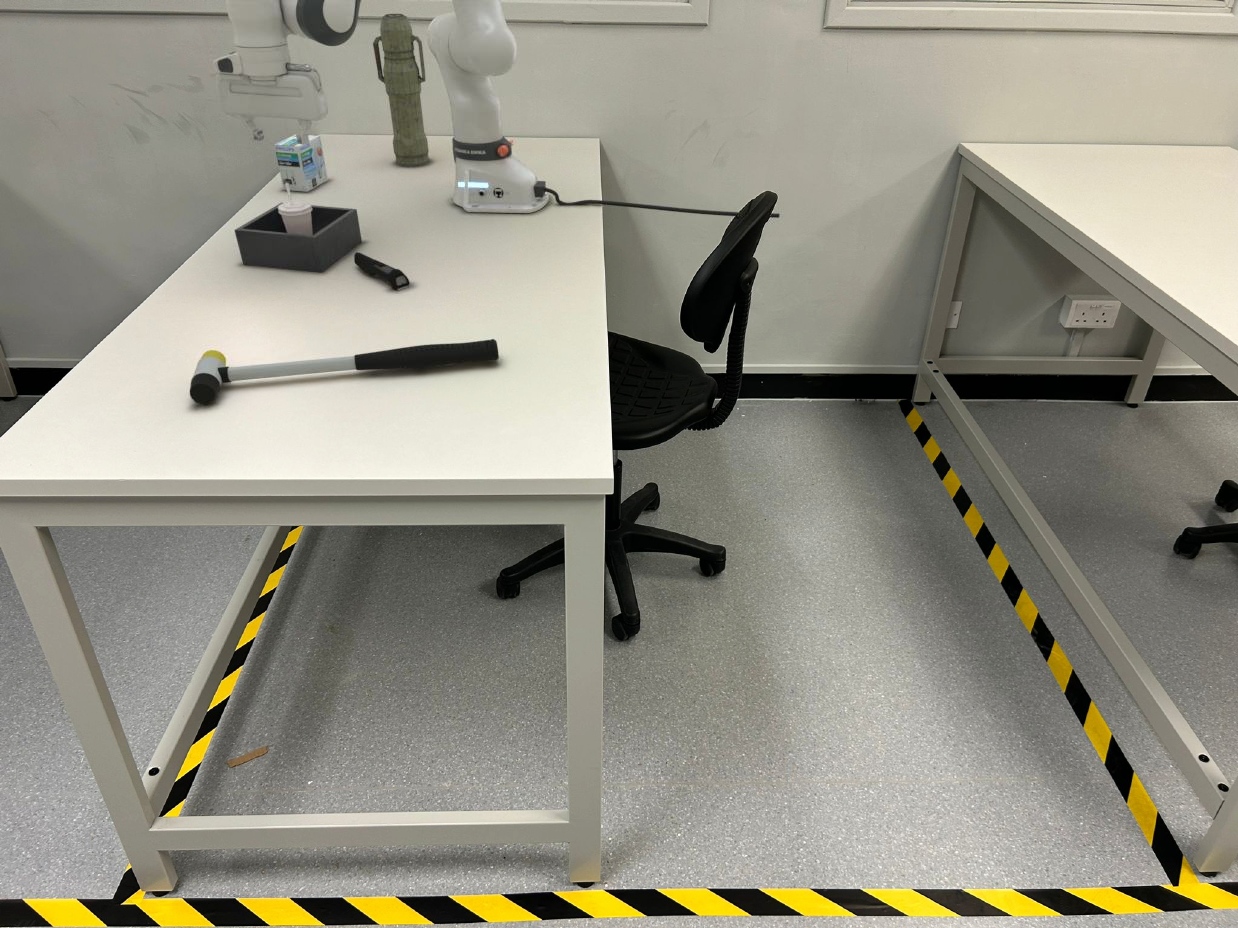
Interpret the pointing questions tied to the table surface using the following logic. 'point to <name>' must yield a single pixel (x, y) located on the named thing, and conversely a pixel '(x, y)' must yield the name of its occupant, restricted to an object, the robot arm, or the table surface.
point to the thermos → (403, 88)
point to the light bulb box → (301, 163)
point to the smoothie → (296, 215)
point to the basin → (299, 240)
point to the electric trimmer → (382, 271)
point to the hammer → (335, 364)
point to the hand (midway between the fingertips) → (280, 142)
